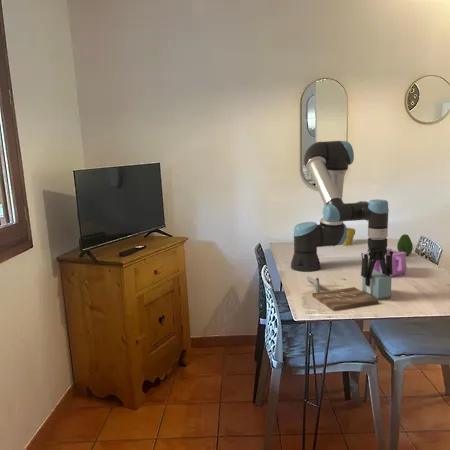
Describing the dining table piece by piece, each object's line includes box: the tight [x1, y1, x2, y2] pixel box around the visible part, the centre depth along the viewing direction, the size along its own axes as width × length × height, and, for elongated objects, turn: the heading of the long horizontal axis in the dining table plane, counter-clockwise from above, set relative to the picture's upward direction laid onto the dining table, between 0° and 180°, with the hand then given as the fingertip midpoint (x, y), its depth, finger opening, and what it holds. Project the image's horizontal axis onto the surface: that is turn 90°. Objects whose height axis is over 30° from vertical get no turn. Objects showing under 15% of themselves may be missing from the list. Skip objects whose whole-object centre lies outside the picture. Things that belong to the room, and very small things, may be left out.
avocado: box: [396, 233, 414, 257], centre depth 238 cm, size 8×8×12 cm
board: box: [311, 286, 379, 311], centre depth 175 cm, size 17×20×2 cm
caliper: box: [306, 276, 321, 293], centre depth 195 cm, size 20×1×6 cm, turn 3°
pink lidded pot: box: [373, 247, 408, 278], centre depth 207 cm, size 17×17×12 cm
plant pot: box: [340, 227, 356, 246], centre depth 270 cm, size 10×10×10 cm
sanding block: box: [361, 270, 392, 301], centre depth 178 cm, size 11×6×9 cm, turn 16°
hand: (376, 291), depth 179 cm, fingers closed on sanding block, 6 cm apart
